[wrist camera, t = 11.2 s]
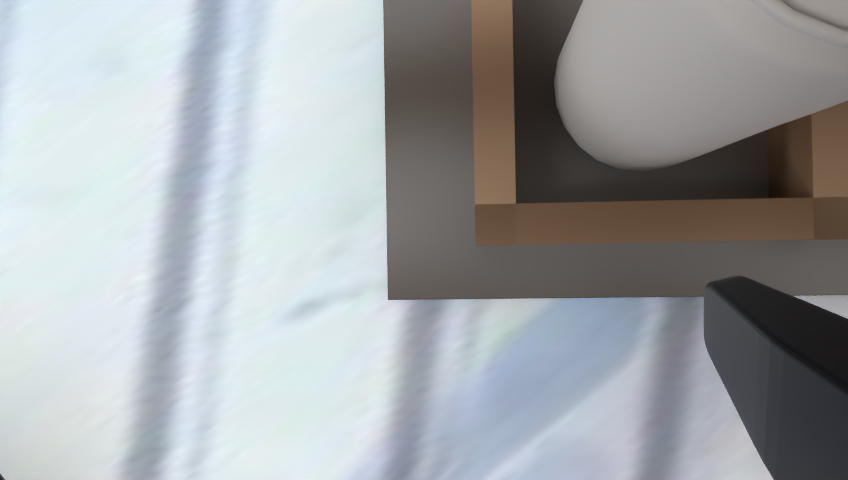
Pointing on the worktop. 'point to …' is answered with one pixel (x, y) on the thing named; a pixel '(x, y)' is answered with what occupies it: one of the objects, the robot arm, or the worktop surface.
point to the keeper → (580, 178)
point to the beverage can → (695, 74)
